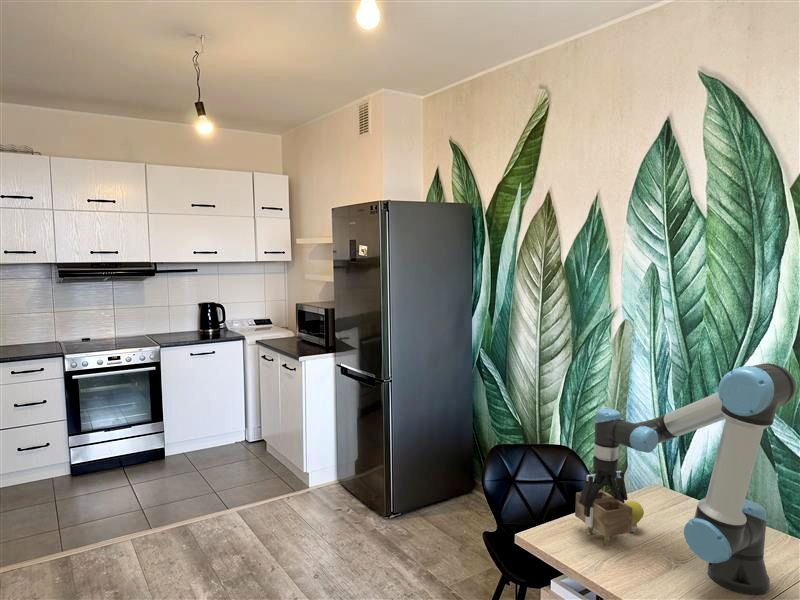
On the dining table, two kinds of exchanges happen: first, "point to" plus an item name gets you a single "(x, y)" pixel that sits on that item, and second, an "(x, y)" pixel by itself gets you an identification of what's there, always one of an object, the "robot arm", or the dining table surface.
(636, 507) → the light bulb
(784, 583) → the dining table surface
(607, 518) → the keyhole block
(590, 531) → the post
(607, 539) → the post
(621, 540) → the dining table surface
